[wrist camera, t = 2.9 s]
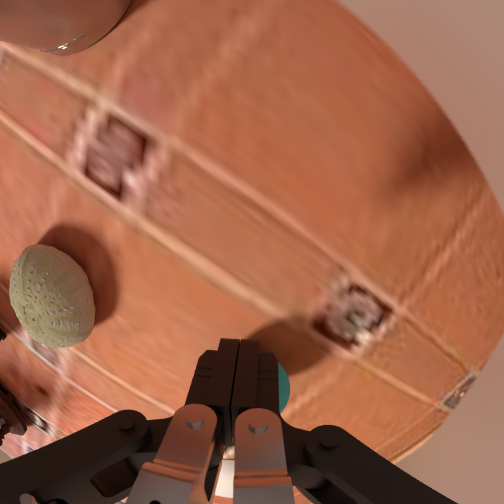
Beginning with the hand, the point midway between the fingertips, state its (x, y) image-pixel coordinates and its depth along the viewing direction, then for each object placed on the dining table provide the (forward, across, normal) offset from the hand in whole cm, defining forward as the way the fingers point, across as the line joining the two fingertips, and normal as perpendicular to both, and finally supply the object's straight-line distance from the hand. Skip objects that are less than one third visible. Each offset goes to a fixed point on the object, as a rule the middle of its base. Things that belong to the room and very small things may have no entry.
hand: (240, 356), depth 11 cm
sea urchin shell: (+10, +17, +3) cm, 20 cm away
